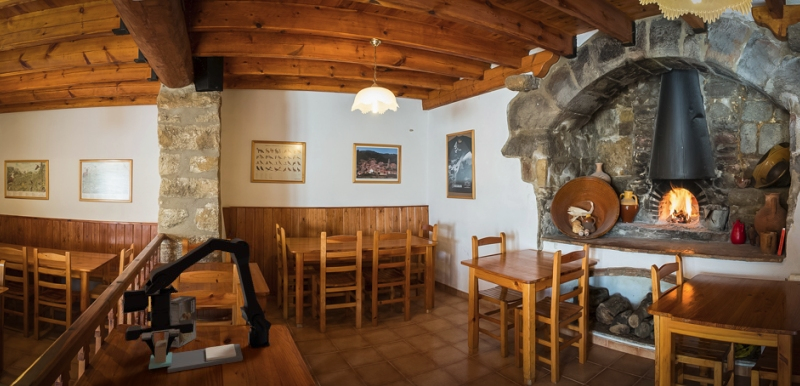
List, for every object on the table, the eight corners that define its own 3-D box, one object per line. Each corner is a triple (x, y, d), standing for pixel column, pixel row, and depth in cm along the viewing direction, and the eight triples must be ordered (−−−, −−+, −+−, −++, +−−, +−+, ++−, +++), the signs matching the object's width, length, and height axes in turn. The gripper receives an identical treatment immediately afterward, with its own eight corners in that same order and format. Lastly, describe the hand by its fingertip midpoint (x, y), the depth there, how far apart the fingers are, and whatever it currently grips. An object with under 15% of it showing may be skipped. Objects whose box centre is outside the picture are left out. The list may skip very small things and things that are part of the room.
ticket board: (239, 347, 151) (239, 341, 151) (242, 360, 140) (242, 354, 140) (169, 357, 141) (169, 351, 141) (167, 372, 131) (167, 366, 131)
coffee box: (181, 336, 160) (181, 294, 159) (196, 338, 158) (196, 296, 158) (163, 346, 151) (163, 301, 150) (179, 348, 149) (179, 303, 149)
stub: (172, 354, 140) (172, 337, 140) (170, 365, 132) (170, 347, 132) (151, 357, 138) (151, 340, 138) (148, 369, 130) (148, 350, 129)
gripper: (193, 297, 146) (193, 342, 146) (129, 304, 137) (129, 351, 138) (193, 307, 136) (193, 354, 136) (124, 314, 127) (125, 365, 128)
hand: (160, 355), depth 135 cm, fingers closed on stub, 3 cm apart
